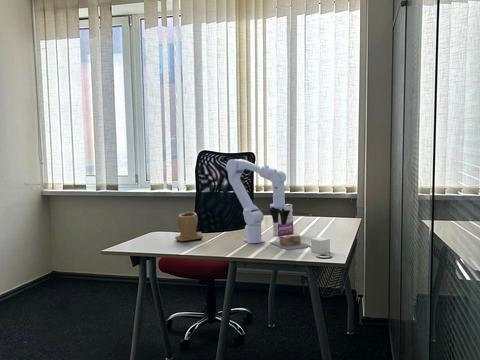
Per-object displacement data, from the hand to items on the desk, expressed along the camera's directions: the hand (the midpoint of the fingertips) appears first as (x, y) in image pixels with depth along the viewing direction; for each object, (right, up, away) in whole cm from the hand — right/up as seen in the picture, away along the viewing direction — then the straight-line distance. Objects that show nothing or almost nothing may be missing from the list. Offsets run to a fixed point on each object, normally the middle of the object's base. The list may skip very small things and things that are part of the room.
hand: (279, 223), depth 224 cm
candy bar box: (+4, -9, +27) cm, 28 cm away
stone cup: (-46, -11, +16) cm, 50 cm away
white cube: (+17, -12, -17) cm, 27 cm away
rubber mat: (+5, -10, -1) cm, 12 cm away
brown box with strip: (+5, -10, -1) cm, 11 cm away
